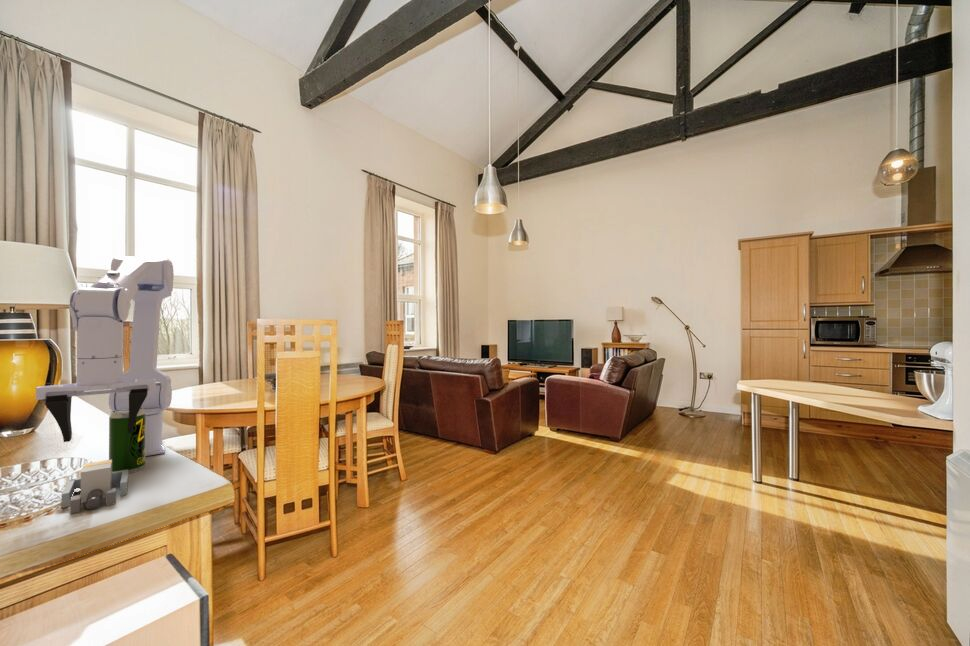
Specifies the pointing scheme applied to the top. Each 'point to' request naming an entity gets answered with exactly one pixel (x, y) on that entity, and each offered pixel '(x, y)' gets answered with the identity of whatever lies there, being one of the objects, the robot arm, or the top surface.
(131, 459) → the beer can
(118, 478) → the grey holder frame
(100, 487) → the connector
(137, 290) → the robot arm
